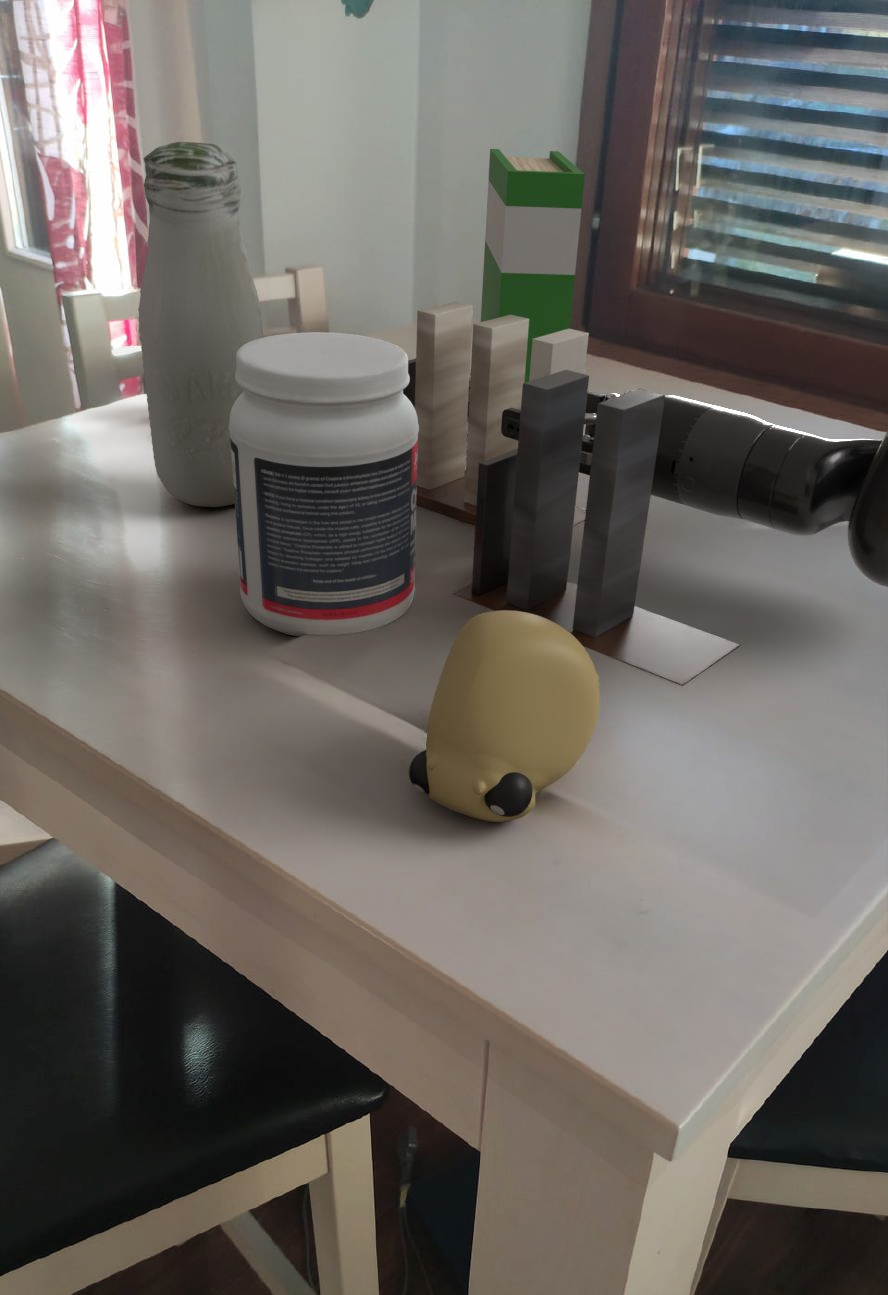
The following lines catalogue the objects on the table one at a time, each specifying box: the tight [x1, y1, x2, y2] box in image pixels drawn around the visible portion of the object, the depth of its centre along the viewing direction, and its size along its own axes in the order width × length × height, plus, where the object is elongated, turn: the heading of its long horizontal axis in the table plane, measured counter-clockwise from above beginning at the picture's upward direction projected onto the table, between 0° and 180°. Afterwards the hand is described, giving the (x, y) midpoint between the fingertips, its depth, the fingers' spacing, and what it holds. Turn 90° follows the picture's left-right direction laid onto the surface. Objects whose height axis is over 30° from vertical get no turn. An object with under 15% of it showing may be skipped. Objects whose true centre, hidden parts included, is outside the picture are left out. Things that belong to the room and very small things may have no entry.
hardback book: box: [480, 148, 586, 383], centre depth 125 cm, size 18×7×24 cm, turn 4°
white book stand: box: [403, 301, 586, 527], centre depth 100 cm, size 20×8×16 cm, turn 50°
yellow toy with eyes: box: [408, 610, 601, 823], centre depth 66 cm, size 10×12×11 cm
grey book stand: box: [451, 370, 741, 687], centre depth 80 cm, size 20×8×17 cm, turn 50°
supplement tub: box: [229, 331, 419, 638], centre depth 81 cm, size 13×13×18 cm
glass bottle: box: [138, 141, 264, 508], centre depth 95 cm, size 10×10×28 cm
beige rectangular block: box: [529, 328, 590, 381], centre depth 96 cm, size 2×5×15 cm, turn 140°
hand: (535, 410), depth 97 cm, fingers open, 8 cm apart
